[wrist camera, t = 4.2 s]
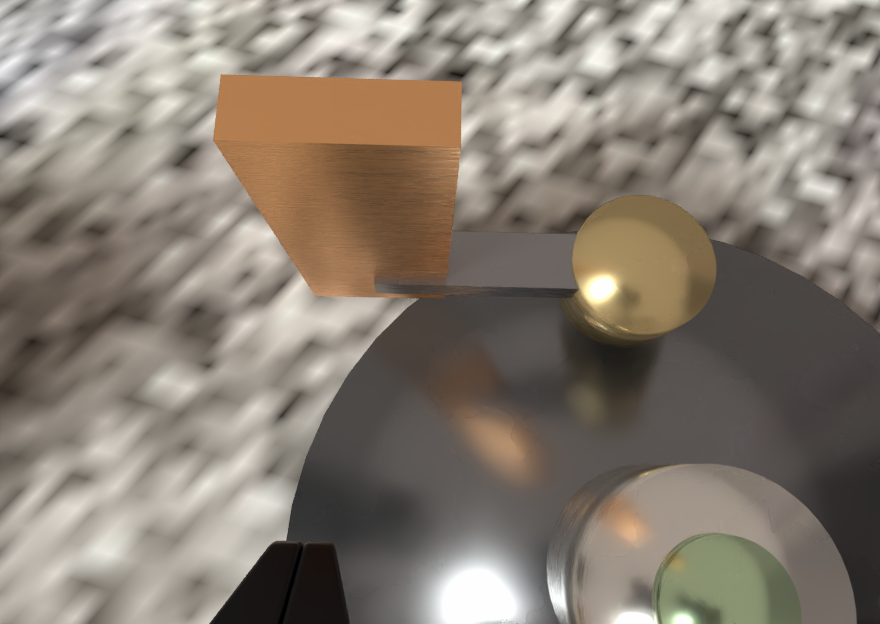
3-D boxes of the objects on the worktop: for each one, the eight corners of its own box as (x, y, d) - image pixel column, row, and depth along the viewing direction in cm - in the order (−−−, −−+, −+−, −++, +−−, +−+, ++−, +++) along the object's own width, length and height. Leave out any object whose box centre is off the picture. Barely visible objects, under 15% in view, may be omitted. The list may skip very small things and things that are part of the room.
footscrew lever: (677, 227, 20) (893, 23, 11) (686, 349, 19) (931, 240, 10) (321, 218, 20) (229, 2, 11) (312, 340, 19) (203, 221, 10)
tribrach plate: (1120, 799, 18) (1460, 963, 12) (428, 1133, 16) (429, 1528, 10) (784, 163, 23) (912, 56, 17) (211, 359, 20) (123, 315, 15)
